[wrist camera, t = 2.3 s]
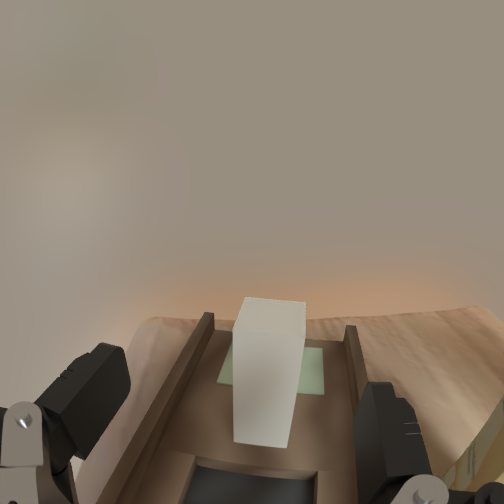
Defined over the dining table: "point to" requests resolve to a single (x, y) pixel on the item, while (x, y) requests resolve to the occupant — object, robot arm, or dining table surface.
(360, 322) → the dining table surface
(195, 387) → the channel
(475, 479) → the skincare box
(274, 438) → the block
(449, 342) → the dining table surface
